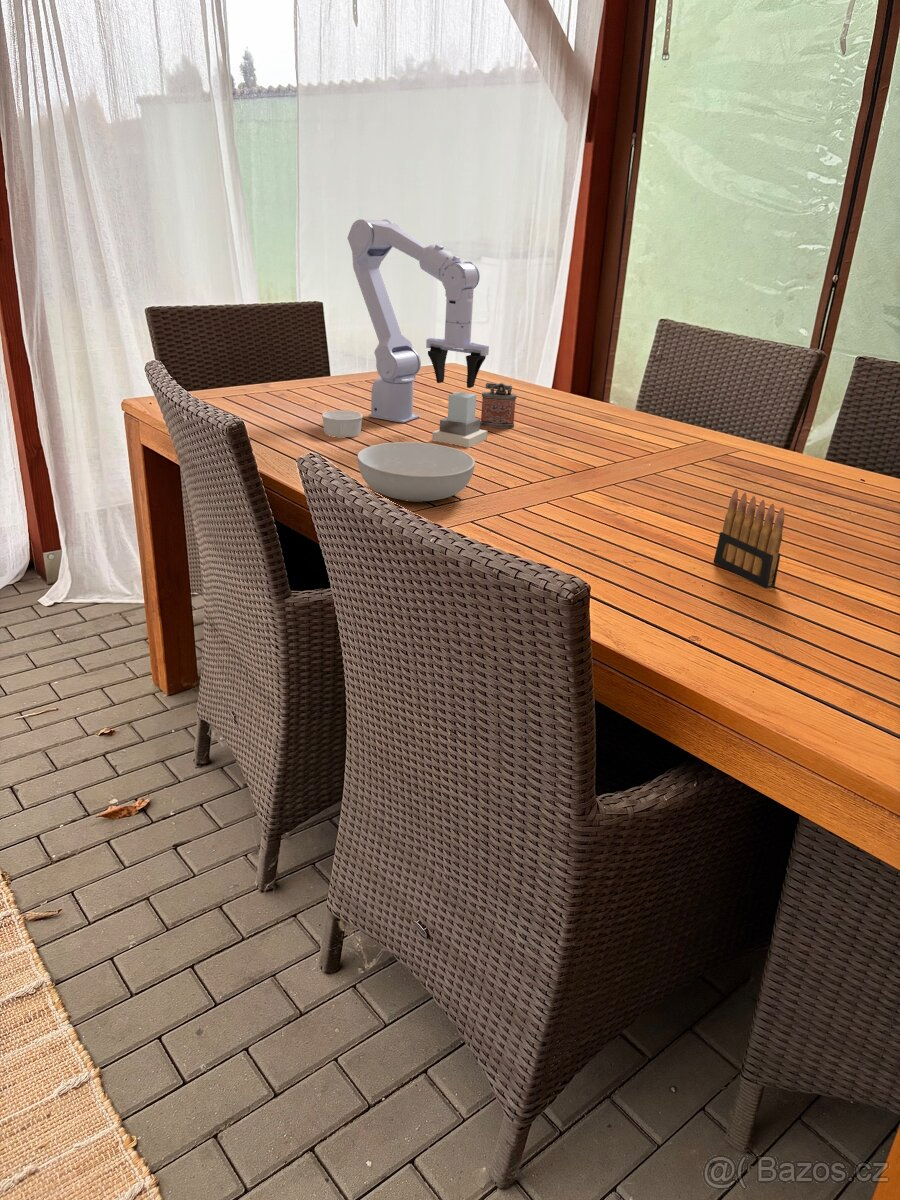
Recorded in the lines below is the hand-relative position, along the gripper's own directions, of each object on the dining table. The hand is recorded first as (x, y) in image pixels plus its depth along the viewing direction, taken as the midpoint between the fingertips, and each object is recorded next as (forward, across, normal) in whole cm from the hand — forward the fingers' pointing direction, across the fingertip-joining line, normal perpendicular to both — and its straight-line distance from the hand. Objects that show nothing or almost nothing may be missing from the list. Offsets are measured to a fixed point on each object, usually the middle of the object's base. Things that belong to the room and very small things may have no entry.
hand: (455, 384), depth 199 cm
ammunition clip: (+11, +75, -48) cm, 90 cm away
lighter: (+11, +6, +11) cm, 16 cm away
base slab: (+11, +5, -6) cm, 14 cm away
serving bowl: (+11, +16, -45) cm, 49 cm away
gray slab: (+9, +5, -6) cm, 11 cm away
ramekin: (+11, -18, -18) cm, 28 cm away
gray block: (+6, +5, -6) cm, 10 cm away
